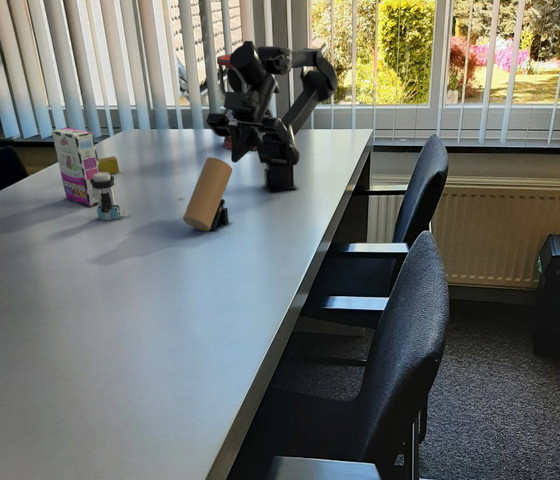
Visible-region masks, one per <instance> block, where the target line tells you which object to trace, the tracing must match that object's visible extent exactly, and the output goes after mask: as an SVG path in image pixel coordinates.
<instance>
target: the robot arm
mask: <svg viewBox="0 0 560 480" xmlns="http://www.w3.org/2000/svg"><path fill="white" fill-rule="evenodd" d="M230 54H231V56H230V64H231V65H232V67H233V68H234V70H235V71H236V73H237V74H238V76H239V77H240V79H241V80H242V82H243V83H244V84H246V85H249V86H248V88H247V91H246V93H241V92H234V91H226V94H225V96H224V100H223V109H226V108H228V109H229V111H231V113H230V114H231V115H232V118H233V117H236V119H232V118H229V117H228V115H227V116H226V115H225V113H223V112H215V111H212V112H208V113H207V117H206V120H205V123H206V124H207V126H208V127H209V128H210V129H211V131H212V132H213V133H214V134H215V135H216V136H218V137H219V138H225V137H230V136H231V149H230V150H231V151H230V152H231V153H230V155H231V156H230V157H231V158H230V161H231V162H232V163H235V164H237V163H238V162H240V160H241V159H242V158H244V156H246V155H247V154H248V153H249V152H250V151H252V150H251V149H253V148H254V147H255V146H256V148H257V150H256V151H257V155H258V158H259V162H260V164H265V165H266V166H265V168H264V169H263V170H264V171H263V172H264V185H265V187H266V188H267V190H269V191H270V193H274V192H275V193H276V192H283V191H284V192H285V191H291V190H293V191H294V190H296V189H297V187H296V186H295V180H294V179H295V177H294V166H297V165H298V163H299V162H300V151H299V150H298V148H297V147H296V143H295V137H296V136H297V134H298V133H299V131H300V129H301V128H302V126H303V125H304V124H305V123H306V121H307V120H308V119H309V118H310V116H311V114H312V113H313V111H314V110H315V109H316V107H317V106H318V104H320V103H323V102H325V101H326V100H329V99H330V98H331V97H332V96H333V95H334V94H335V93H336V91H337V90H338V87H339V78H338V75H337V72H336V70H335V67H334V66H333V65H332V64H331V62H329V61H328V60H327V59H326V57H324V54H323V51H322V50H321V49H319V48H311V47H310V48H307V47H306V48H305V47H304V48H302V49H291V48H290V47H286V46H274V45H268V46H267V45H260V46H258V47H256V43H254V40H244V41H243V43H242V45H239V46H238V47H237V48H235V49H234V51H233V52H231V53H230ZM308 67H311V68H313V67H314V68H316V69H310V70H309V68H308ZM298 68H301V69H300V74H299V78H300V81H301V84H302V91H301V93H299V94H298V96H297V98H296V99H295V101H293V103H292V105H291V106H290V107H289V109H288V110H287V111H286V113H285V114H284V116H283V117H282V118H281V119H280V117H275V116H273V117H269V113H270V110H269V109H268V106H269V107H270V103H271V100H272V99H273V95H274V94H280V86H279V84H278V81H277V80H276V79H275V78H274V76H284V75H286V74H288V73H291V72H292V69H298Z"/></svg>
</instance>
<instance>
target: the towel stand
mask: <svg viewBox="0 0 560 480" xmlns="http://www.w3.org/2000/svg"><path fill="white" fill-rule="evenodd" d="M225 204H226V200H225V199H224V198H222V199H221V201H220V204H219V207H218V209H217V212H216V214H215V217H214V219H213V222H212V225H211V227H210V231H211V232H216V231H218V230H219V229H221V228H223V227H225V226H228V225H229V224H230V222H229V211H228V207H225Z"/></svg>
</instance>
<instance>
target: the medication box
mask: <svg viewBox="0 0 560 480" xmlns="http://www.w3.org/2000/svg"><path fill="white" fill-rule="evenodd" d="M98 162H99V168H100V172H107V173H109V174H110V175H111V174H117V173H120V172H121V171H120V169H119V163H118V158H117V157H116V156H115V155H112V156H108V157H107V156H106V157H102V158H101V157H100V158H98Z"/></svg>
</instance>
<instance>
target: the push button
mask: <svg viewBox="0 0 560 480" xmlns="http://www.w3.org/2000/svg"><path fill="white" fill-rule="evenodd" d="M90 183H92V187H93V188H96V193H97V198H98V202H99V204H97V206H98V207H97V208H96V213H97V217H98V220H99V221H105V220H106V221H111V220H119V219H120V217H126V216H128V214H127V213H126V212H127V210H126V209H125V210H122V209H120V205H119V204H117V202H116V201H115V195H114V191H113V187H114V186H115V177H114V176H113V175H111V174H109V173H107V172H100V173H96V174H94V175H93V178H92V179H90ZM100 191H101V194H100ZM123 213H125V214H123Z"/></svg>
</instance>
